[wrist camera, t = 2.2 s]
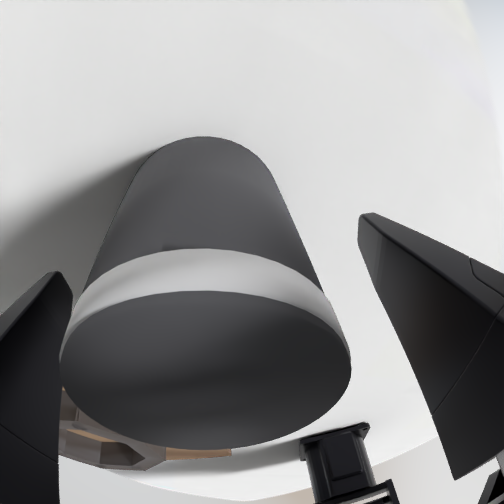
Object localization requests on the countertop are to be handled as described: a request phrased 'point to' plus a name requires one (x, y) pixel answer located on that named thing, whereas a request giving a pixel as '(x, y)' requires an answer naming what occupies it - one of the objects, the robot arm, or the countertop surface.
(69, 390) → the lens
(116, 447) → the mount
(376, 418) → the countertop surface
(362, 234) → the robot arm
